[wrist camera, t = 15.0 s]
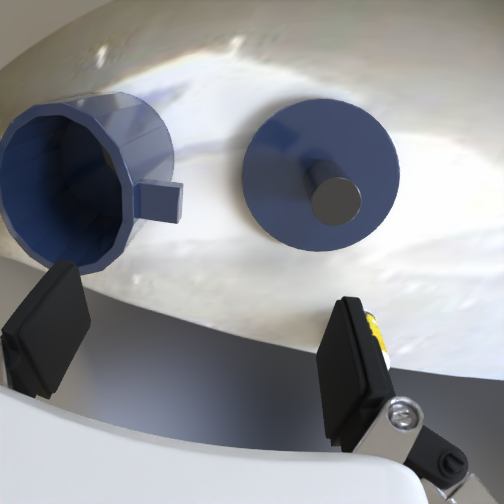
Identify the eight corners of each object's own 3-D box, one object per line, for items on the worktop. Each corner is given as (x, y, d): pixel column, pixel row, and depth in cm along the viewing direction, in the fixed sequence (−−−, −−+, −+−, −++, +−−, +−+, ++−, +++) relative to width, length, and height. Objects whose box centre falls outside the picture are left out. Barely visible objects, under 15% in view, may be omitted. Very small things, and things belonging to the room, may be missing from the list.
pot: (37, 96, 22) (-31, 114, 14) (212, 95, 23) (184, 103, 15) (43, 211, 29) (-10, 256, 21) (198, 232, 30) (174, 295, 21)
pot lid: (255, 84, 23) (252, 84, 17) (410, 121, 23) (446, 134, 18) (233, 233, 29) (226, 271, 24) (370, 255, 30) (389, 293, 25)
